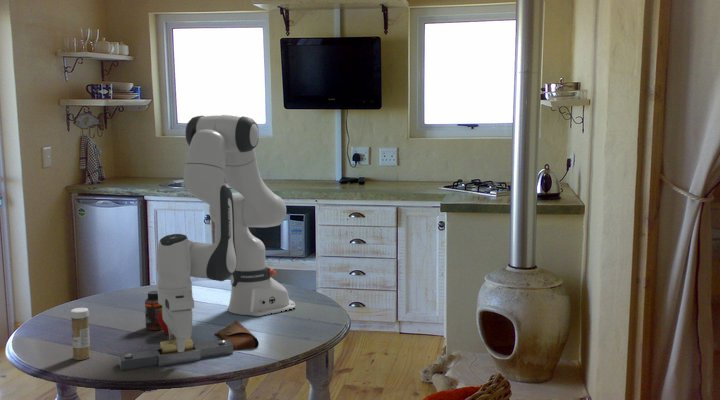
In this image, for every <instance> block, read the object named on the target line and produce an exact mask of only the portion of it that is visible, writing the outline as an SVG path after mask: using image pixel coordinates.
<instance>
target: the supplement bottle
mask: <svg viewBox="0 0 720 400" xmlns="http://www.w3.org/2000/svg"><path fill="white" fill-rule="evenodd" d="M160 308H162V305H160V304H159V303H158V290H150V291H148V292H147V298H146V299H145V301H144V311H145V312H144V314H145V329H146V330H149V331H159V330H162V328H161V327H160V325H159V323H158V320H157V314H158V313H159V311H161V310H159V309H160Z"/></svg>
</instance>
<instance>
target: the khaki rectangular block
mask: <svg viewBox="0 0 720 400" xmlns="http://www.w3.org/2000/svg"><path fill="white" fill-rule="evenodd" d="M193 343H194V341H193V340H192V338H191V337H190V338H188V339H186V341H185V345H184V347H185V350H184V351H189V350H193ZM176 344H177V340H164V341H160V345H159V347H161V355H162V354H169V353H176V352H178V351H177V346H176Z"/></svg>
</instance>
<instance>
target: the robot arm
mask: <svg viewBox="0 0 720 400" xmlns="http://www.w3.org/2000/svg"><path fill="white" fill-rule="evenodd" d="M184 133H185V141H186V143H187V144H188V146H189V147H188V150H187V154H186V158H185V163H184V164H185V165H184V171H183V184H184V187H185V189H186V190H187V191H188V193H190V195H191V196H193V197H194V198H195V199H198V200H200V201H202V202H204V203H206V204H208V206H209V207H208V213H209V217H210V219H211V220H212V222H213V223H214V224H215V242H213V243H210V242H209V243H207V242H206V243H205V242H199V241H198V242H197V241H193V240H189V238H188V236H187V235H186V234H182V233H172V234H167V235H165V236H163V237H162V238H160V239H159V241H158V245H157V252H156V270H157V273H158V275H157V276H158V282H157V291H158V303H159V304H160V305H162V318H163V321H164V322H165V323H166V325H167V327H168V332H169V334H168V339H169V340H168V341H170V340H177V344H176V346H177V351H178V352H183V351H184V350H185V347H184V345H185V341H186V339H188V338H191V337H192V333H193V310H192V309H195V299H194V297H193V284H192V280H191V278H196V279H197V278H198V279H209V280H212V281H217V282H224V281H226V280H227V279H229V278H230V279H229V280H230V285H231V291H230V292H231V293H230V298H229V299H230V300H229V302H228V303H229V304H228V306H227V307H228V308H227V311H228V312H229V313H232V314H233V315H242V316H244V315H245V316H250V317H251V316H252V317H261V316H265V315H271V313H272V314H276V313H282V312H286V311H285V310H287V311H290V310H289V309H292V310H294V309H293V308H295V306H296V303H295V301H293V300H292V299H290V298H289V293H288V290H287V289H286V287H285V286H284V285H282V284H281V283H280V282H278V281H277V280H275V279H274V278H273V277H274V276H275V275H276V274H277V272H276V270H275V269H273V268H270V267H268V266H266V246H265V244H264V242H263V241H262V240H261V239H259V238H258V237H256V236H255V235H253V234H252V232H251V231H250V229H249V228H271V227H272V228H273V227H277V226H280V225H281V224H282V223H283V222H284V221H285V219H286V215H287V206H286V203H285V201H284V199H283V198H282V197H280V196H279V195H277V194H276V193H275V192H273V191H272V190H271V189H270V188H269V187H268V185H266V183H265V182H264V180H263V178H262V176H261V174H260V173H261V172H260V169H259V163H258V160H257V159H258V157H257V153H256V147H257V146H258V142H259V138H260V131H259V126H258V124H257V122H256V121H255V120H254V119H253V118H251V117H249V116H237V115H228V114H220V115H197V116H193V117H191V119H190V120H189V121H188V122H187V124H186V125H185V132H184ZM227 186H228V187H227ZM231 189H232V190H233V191H236V193H234V192H232V190H231ZM237 192H238V193H237ZM295 309H296V308H295ZM281 311H282V312H281Z"/></svg>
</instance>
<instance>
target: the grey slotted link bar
mask: <svg viewBox="0 0 720 400" xmlns="http://www.w3.org/2000/svg"><path fill="white" fill-rule="evenodd" d="M231 354H234V351H233V344H232V343H231V342H230V341H229V340H228V339H227V340H221V339H219V340H213V341H209V342H201V343H195V342H193V350H189V351H183V352H176V353H169V354H162V355H161V346H159V347H155V348H154V347H153V349H151V350H144V351H137V352H129V353H128V352H127V353H123V354H118V355H117V356H118V359H117V360H118V365H119V368H120V371H127V370H133V369H140V368H146V367H147V368H148V367H153V366H158V367H162V366H169V365H176V364H181V363H188V362H194V361H200V360H201V359H207V358H210V357H211V358H213V357H219V356H225V355H231Z"/></svg>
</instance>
